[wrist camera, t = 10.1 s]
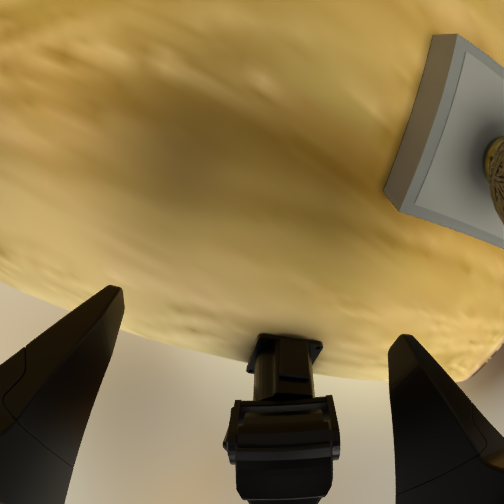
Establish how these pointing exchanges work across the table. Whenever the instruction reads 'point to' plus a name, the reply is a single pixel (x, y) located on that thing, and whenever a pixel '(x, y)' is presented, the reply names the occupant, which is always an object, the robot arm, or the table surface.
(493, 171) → the cup
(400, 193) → the slate base
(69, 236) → the table surface
